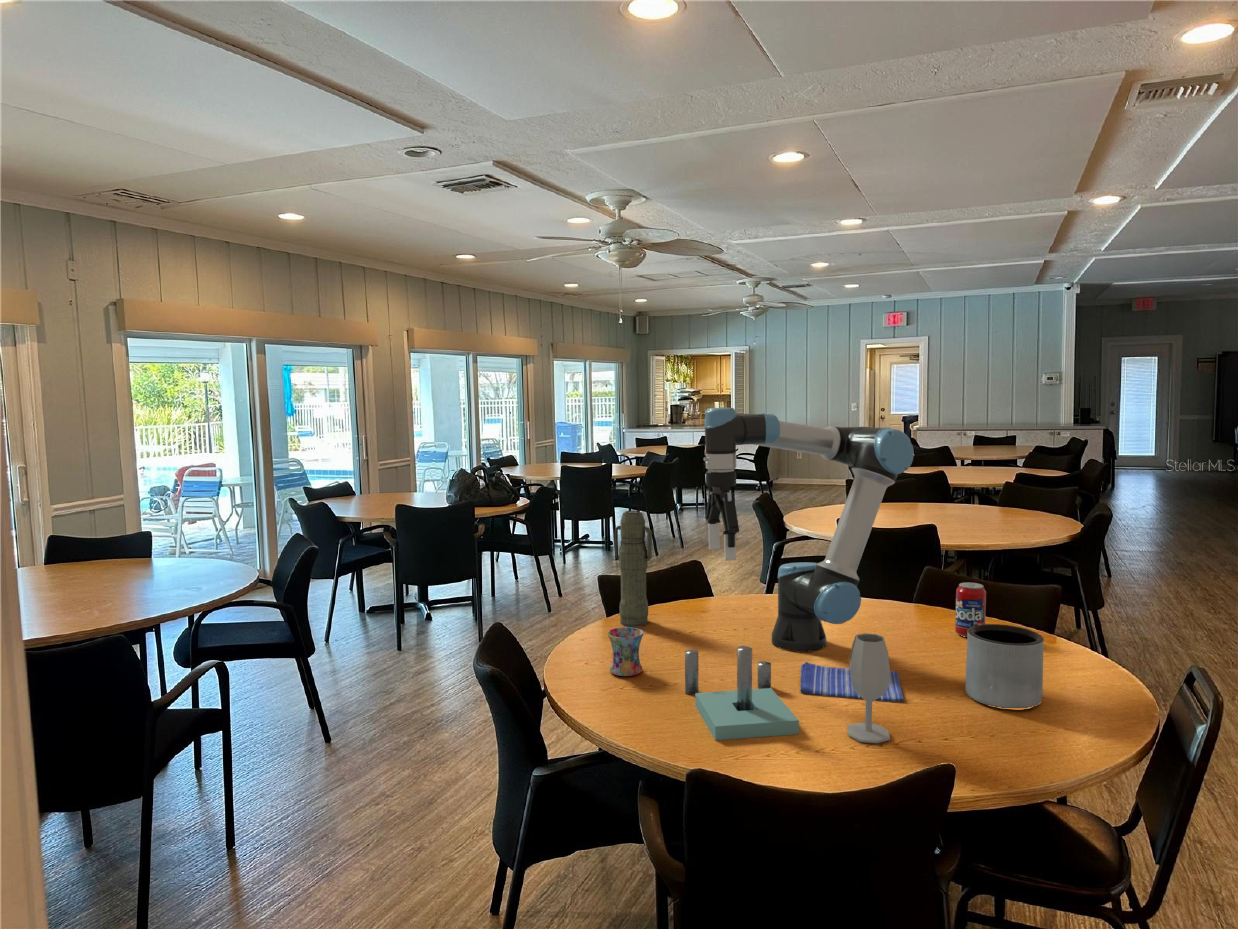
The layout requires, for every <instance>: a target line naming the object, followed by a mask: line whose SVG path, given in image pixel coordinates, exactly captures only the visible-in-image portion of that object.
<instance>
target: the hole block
mask: <svg viewBox="0 0 1238 929" xmlns="http://www.w3.org/2000/svg"><path fill="white" fill-rule="evenodd" d="M694 696H695V698H694V700H695V703H694V704H695V705H694V706H695V708H696V710H697V711H698V713H699V715H700V717H701V718H702V719H703V722H704V723H705V725H706V726H707V729H708V730H709V731H710V734H711V735H712V737H713V738H714V740H715V741H723V740H724V741H725V740H737V739H738V740H739V739H750V738H751V739H752V738H763V737H764V738H765V737H777V736H790V735H792V736H793V735H799V734H800V721H799V718H798V717H797V716H796V715H795V713H793V712H792V710H791V709H790V708H789V707H788V705H786V703H785V702H784V701H783V700H782V699H781V698H780V697H779V696H778V695H777V693H776V692H775V691H774V690H773V689H772V687H771V688H765V689H759V688H752V710H746V711H737V689H736V690H735V689H734V690H725V691H723V690H722V691H710V692H709V691H708V692H699V693H695V695H694Z"/></svg>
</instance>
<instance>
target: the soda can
mask: <svg viewBox="0 0 1238 929" xmlns="http://www.w3.org/2000/svg"><path fill="white" fill-rule="evenodd" d="M986 605H987V590H985V587H984V585H983V584H980V583H977V582H966V581H965V582H961V583H959V584H958V587H957V588H956V592H955V621H954V622H955V625H954V626H955V627H954V630H955V633H956V634H957V635H959V636H960V635H962V636H965V637H967V633H968V629H969V628H970V627H973V626H976V625H982V624H986ZM962 636H961V637H962ZM965 637H964V638H965Z"/></svg>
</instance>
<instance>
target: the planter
mask: <svg viewBox="0 0 1238 929" xmlns="http://www.w3.org/2000/svg"><path fill="white" fill-rule="evenodd" d="M966 640H967V642H966V644H967V645H966V661H965V664H966V665H965V683H964V685H965V686H964V687H965V692H966V694H967V695H968V696H969V697H970V699H972V698H973V699H972V700H974V701H975V700H976V701H975V702H977V701H978V702H977V703H979V702H981V703H983V704H986V705H991V706H995V707H1001V708H1028V707H1032V706H1035V705H1038V704H1039V703H1040V702H1041V701H1042V702H1043V690H1044V689H1043V688H1044V687H1043V685H1044V680H1043V679H1044V678H1043V677H1044V644H1045V638H1044V637H1043V635H1041V634H1039V633H1038V632H1036V631H1034V630H1032V629H1031V630H1030V629H1028V628H1025V627H1021V626H1016V625H1008V624H999V623H997V624H996V623H985V624H982V625H976V626H973V627H970V628H969V629H968V633H967V638H966ZM1042 702H1041V703H1042ZM981 703H980V704H981ZM983 704H982V705H983ZM986 705H985V706H986ZM1039 705H1040V704H1039ZM1039 705H1038V706H1039Z"/></svg>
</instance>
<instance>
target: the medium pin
mask: <svg viewBox="0 0 1238 929" xmlns="http://www.w3.org/2000/svg"><path fill="white" fill-rule="evenodd" d="M699 688H700V686H699V650H697V649H687V650H685V651H684V694H686V695H690V696H693V695H694V696H695V693H700V691H699Z"/></svg>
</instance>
